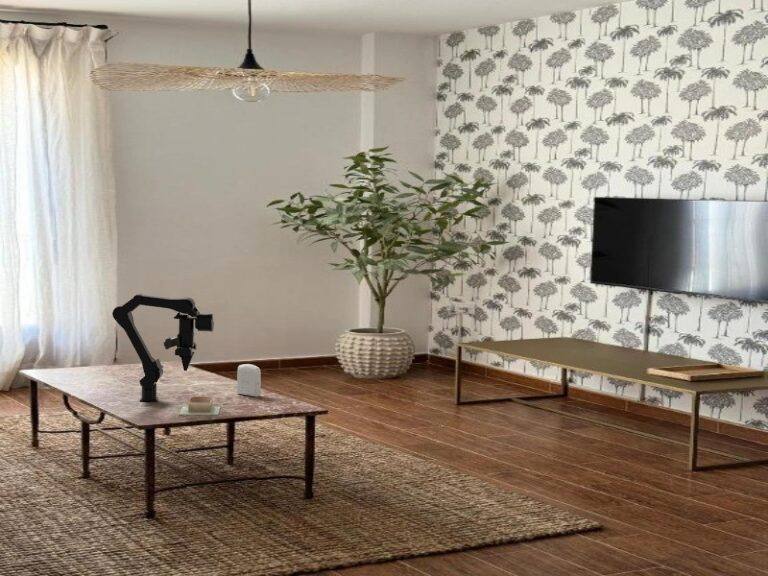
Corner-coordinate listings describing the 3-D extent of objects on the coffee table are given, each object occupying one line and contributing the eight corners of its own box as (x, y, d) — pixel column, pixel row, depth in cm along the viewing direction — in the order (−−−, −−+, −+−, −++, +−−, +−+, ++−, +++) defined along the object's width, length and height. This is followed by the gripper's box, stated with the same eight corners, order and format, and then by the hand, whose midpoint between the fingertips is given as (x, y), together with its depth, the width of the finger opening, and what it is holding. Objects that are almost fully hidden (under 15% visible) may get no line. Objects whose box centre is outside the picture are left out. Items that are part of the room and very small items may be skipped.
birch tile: (190, 396, 433) (188, 402, 421) (212, 396, 433) (210, 402, 421) (190, 406, 433) (188, 412, 421) (212, 406, 434) (210, 412, 422)
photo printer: (262, 395, 459) (262, 365, 458) (255, 397, 456) (255, 366, 455) (242, 392, 465) (242, 362, 464) (235, 394, 461) (235, 363, 460)
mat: (182, 407, 432) (182, 406, 432) (220, 407, 433) (220, 406, 433) (179, 415, 418) (179, 414, 418) (218, 415, 419) (218, 414, 419)
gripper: (168, 326, 451) (167, 366, 453) (161, 333, 433) (160, 374, 434) (197, 327, 452) (196, 367, 453) (191, 334, 433) (190, 375, 435)
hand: (185, 370), depth 444 cm, fingers closed
